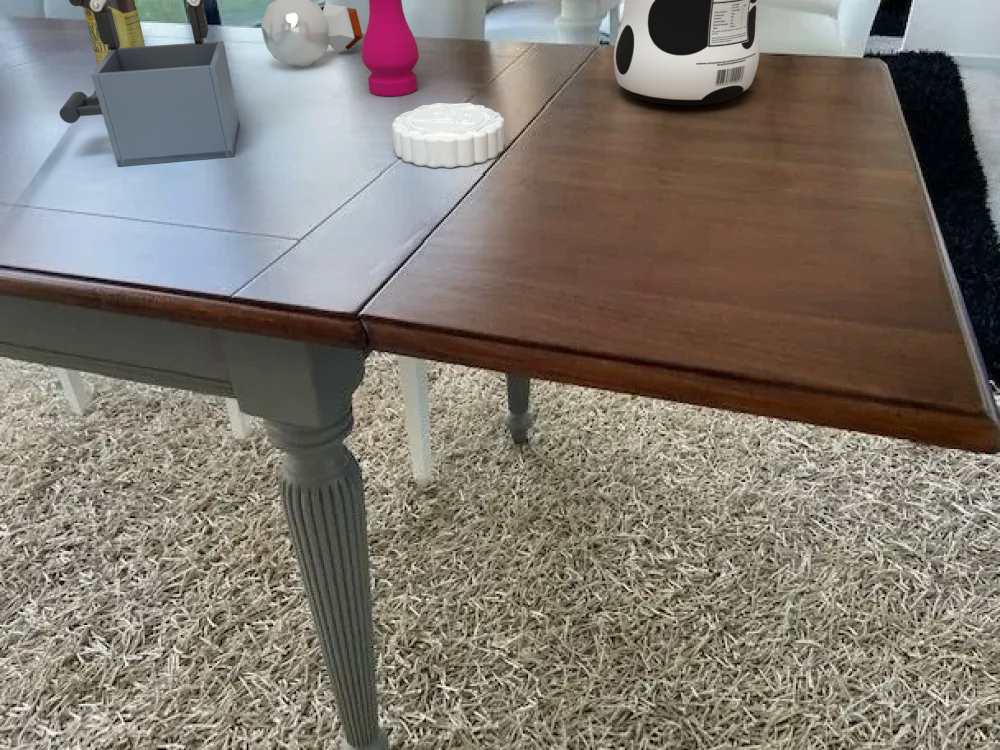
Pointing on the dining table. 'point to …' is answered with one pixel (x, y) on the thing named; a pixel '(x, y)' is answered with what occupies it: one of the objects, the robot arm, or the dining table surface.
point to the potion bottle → (308, 30)
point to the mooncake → (448, 135)
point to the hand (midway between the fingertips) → (157, 45)
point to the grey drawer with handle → (163, 103)
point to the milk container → (687, 50)
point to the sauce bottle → (117, 27)
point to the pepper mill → (389, 50)
